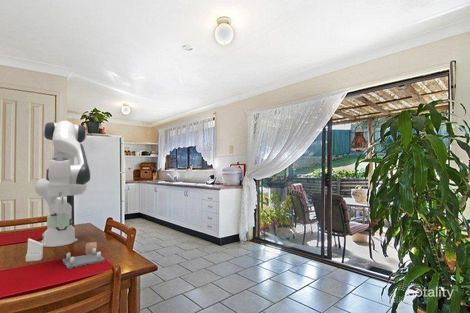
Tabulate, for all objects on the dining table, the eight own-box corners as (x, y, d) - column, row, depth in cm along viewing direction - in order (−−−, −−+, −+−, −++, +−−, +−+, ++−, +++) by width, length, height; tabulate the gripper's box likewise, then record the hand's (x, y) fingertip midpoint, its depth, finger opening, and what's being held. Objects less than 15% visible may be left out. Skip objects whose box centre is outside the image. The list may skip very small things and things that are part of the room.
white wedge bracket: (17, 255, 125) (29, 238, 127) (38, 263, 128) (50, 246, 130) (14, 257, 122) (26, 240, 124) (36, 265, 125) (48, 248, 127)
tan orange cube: (84, 253, 137) (84, 243, 137) (94, 251, 140) (95, 241, 140) (86, 255, 133) (87, 245, 133) (97, 253, 136) (97, 243, 137)
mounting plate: (62, 261, 124) (62, 252, 124) (96, 254, 134) (97, 246, 134) (67, 268, 114) (68, 259, 114) (104, 261, 124) (104, 252, 125)
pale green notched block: (46, 226, 120) (47, 214, 121) (67, 224, 126) (67, 212, 126) (48, 228, 117) (48, 215, 117) (69, 225, 122) (69, 213, 122)
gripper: (71, 192, 116) (70, 224, 116) (63, 190, 132) (62, 218, 131) (54, 193, 112) (52, 226, 111) (48, 191, 128) (46, 219, 127)
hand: (57, 221), depth 121 cm, fingers closed on pale green notched block, 5 cm apart
